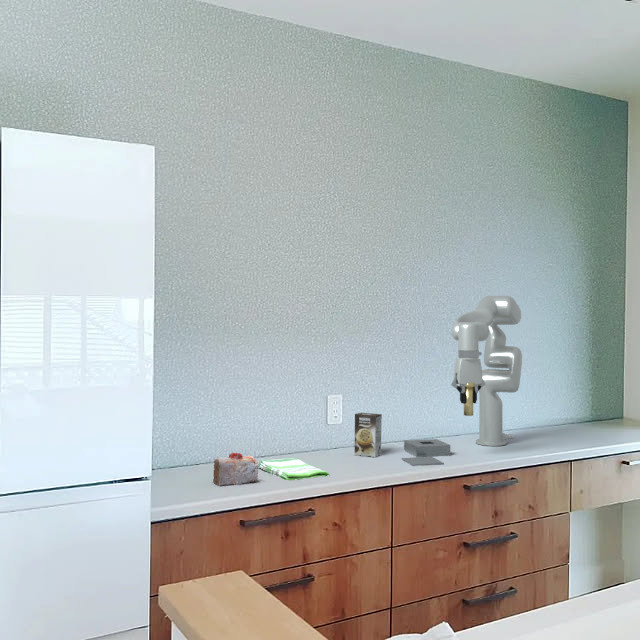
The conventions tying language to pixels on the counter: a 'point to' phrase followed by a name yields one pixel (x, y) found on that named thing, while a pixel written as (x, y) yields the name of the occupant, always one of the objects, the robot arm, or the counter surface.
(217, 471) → the food item
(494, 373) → the robot arm
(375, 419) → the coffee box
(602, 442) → the counter surface
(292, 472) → the dish towel
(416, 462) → the mat
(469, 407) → the brass flanged peg
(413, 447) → the block
